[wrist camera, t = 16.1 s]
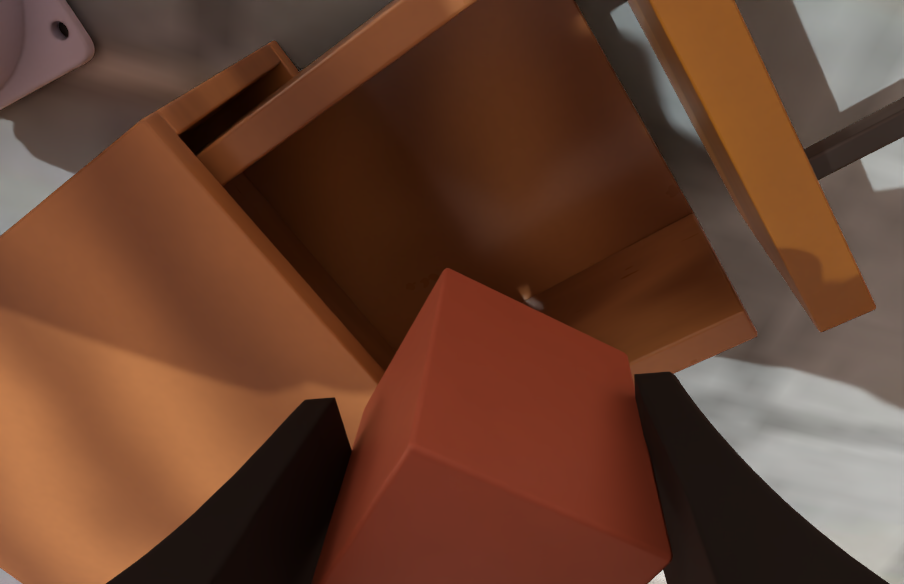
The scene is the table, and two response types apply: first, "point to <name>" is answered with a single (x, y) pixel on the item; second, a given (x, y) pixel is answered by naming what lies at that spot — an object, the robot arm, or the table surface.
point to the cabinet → (151, 343)
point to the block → (497, 457)
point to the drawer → (540, 175)
